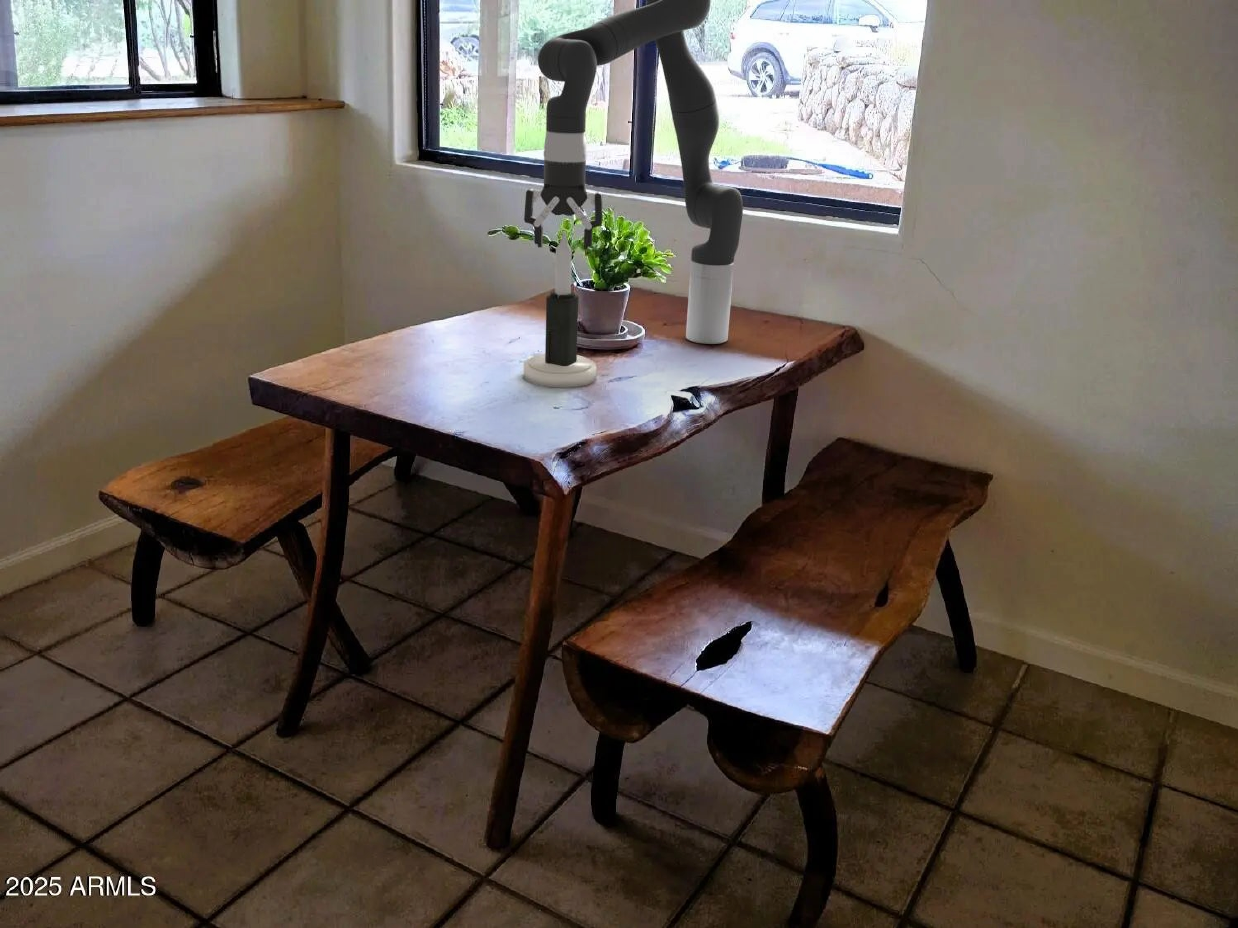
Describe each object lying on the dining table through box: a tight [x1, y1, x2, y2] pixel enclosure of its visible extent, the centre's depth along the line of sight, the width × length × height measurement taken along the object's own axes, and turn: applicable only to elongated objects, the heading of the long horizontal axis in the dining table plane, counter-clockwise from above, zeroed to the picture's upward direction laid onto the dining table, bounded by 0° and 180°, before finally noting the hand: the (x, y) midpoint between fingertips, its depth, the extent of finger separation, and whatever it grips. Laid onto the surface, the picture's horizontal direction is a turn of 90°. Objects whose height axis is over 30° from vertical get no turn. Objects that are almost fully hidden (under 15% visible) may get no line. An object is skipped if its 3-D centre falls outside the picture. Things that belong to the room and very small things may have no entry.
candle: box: [544, 230, 580, 366], centre depth 212 cm, size 5×5×25 cm
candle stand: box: [523, 353, 597, 389], centre depth 217 cm, size 14×14×3 cm
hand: (562, 248), depth 208 cm, fingers open, 8 cm apart
